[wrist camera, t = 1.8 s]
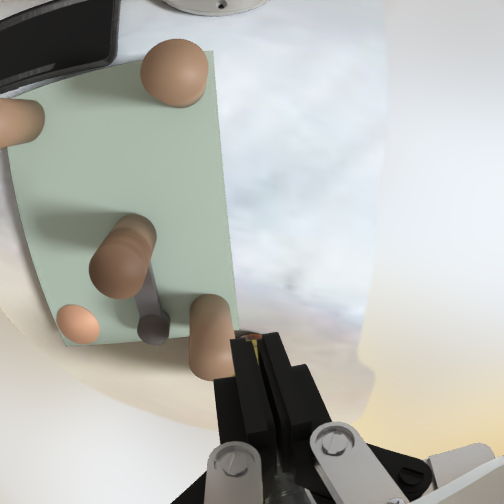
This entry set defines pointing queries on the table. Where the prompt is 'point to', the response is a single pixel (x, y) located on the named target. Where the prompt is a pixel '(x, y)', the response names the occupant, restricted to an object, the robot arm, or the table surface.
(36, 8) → the phone
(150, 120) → the stool seat
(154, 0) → the table surface
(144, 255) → the folding leg
